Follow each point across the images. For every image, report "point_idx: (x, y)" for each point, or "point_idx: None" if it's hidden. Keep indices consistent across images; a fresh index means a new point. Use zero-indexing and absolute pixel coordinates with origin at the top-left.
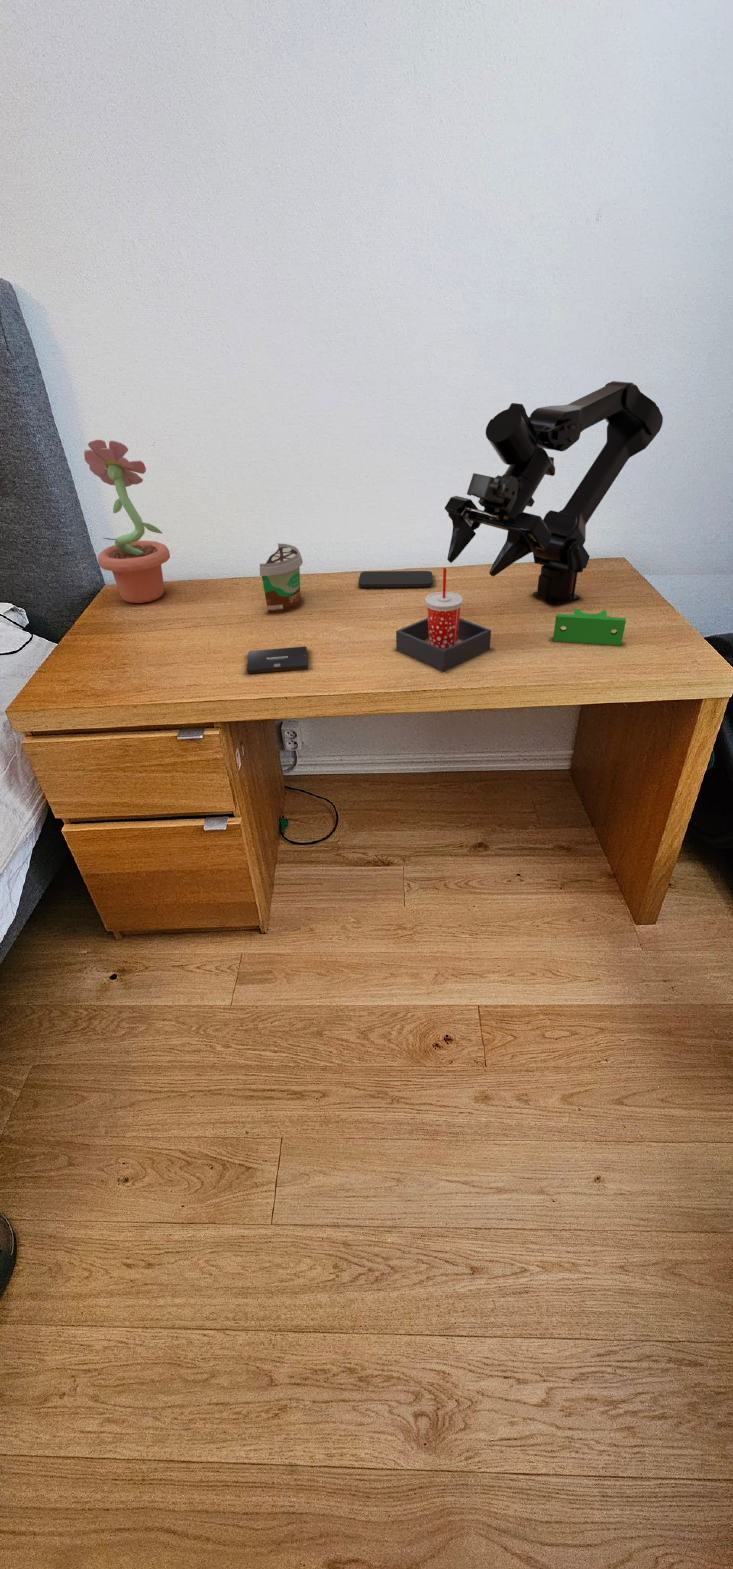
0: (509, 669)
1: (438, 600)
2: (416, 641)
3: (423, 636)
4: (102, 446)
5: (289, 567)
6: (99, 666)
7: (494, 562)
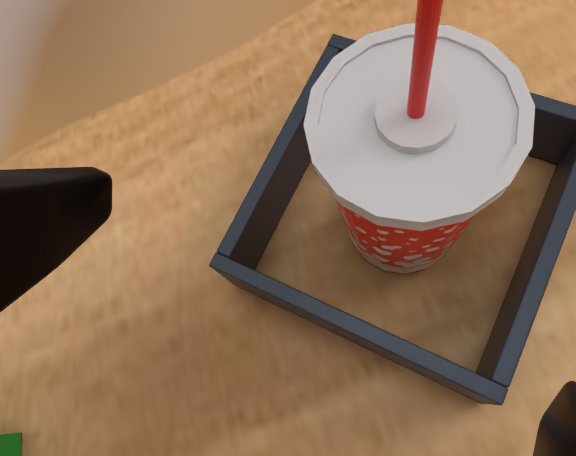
0: (145, 171)
1: (437, 86)
2: None
3: (518, 271)
4: None
5: None
6: None
7: (32, 185)
